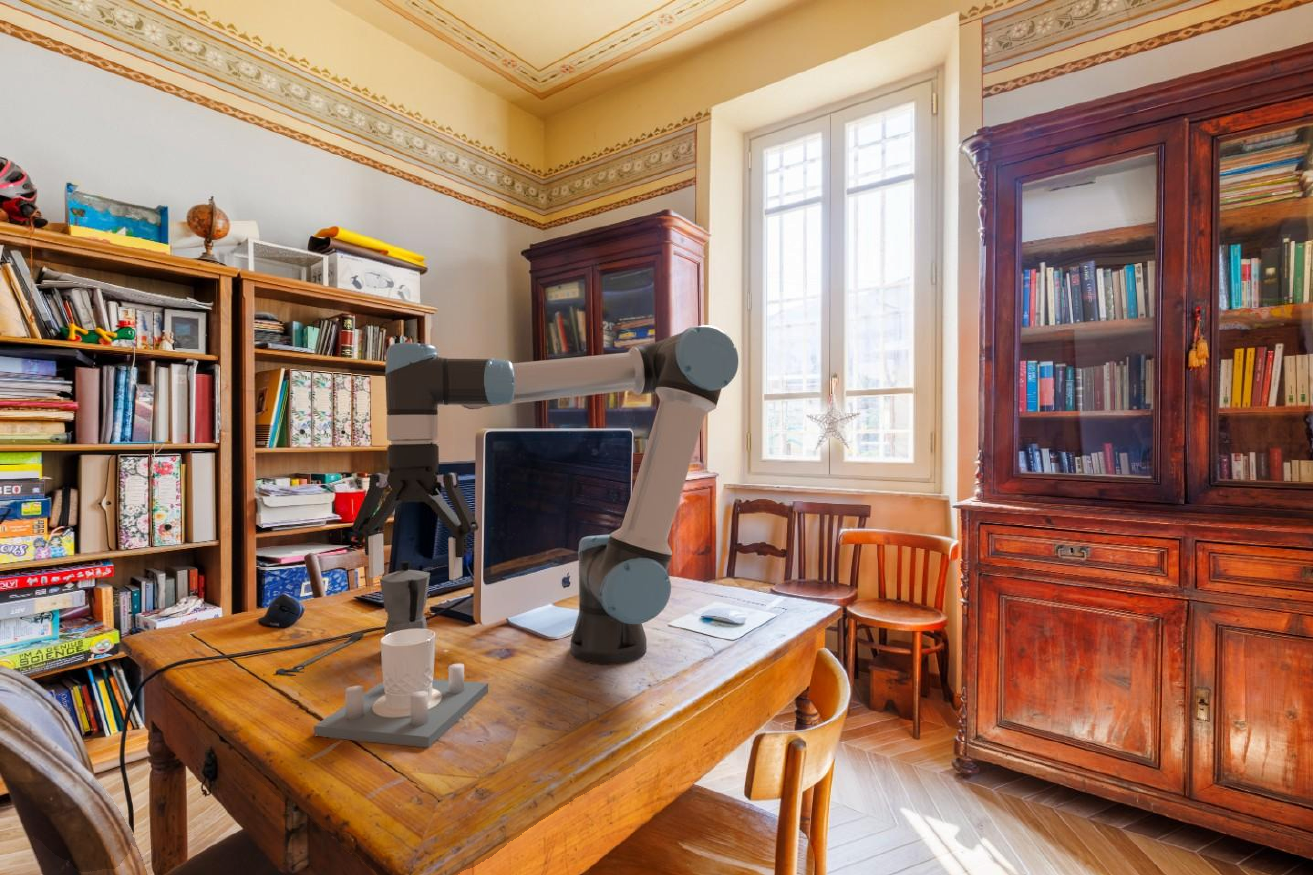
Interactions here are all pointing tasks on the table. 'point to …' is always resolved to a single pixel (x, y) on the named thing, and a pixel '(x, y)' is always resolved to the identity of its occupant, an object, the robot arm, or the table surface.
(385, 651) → the white cup
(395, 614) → the coffeepot
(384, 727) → the peg stand
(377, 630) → the table surface
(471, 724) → the table surface
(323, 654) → the tactical tomahawk
